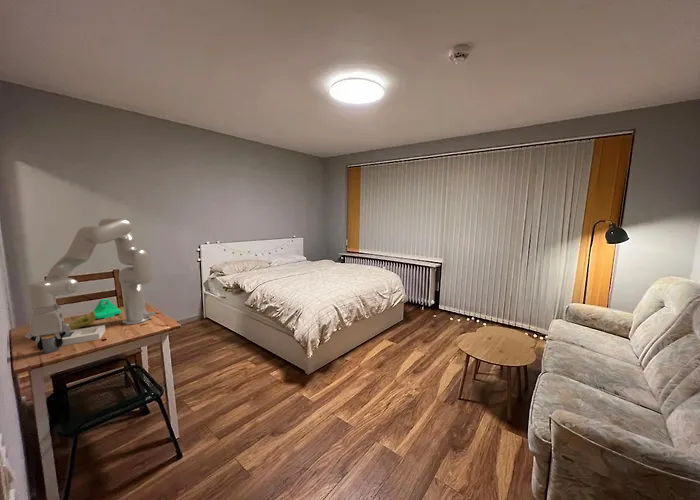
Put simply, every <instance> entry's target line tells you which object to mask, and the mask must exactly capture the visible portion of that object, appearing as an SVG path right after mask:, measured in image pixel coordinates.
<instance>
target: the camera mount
mask: <svg viewBox="0 0 700 500" xmlns="http://www.w3.org/2000/svg"><path fill="white" fill-rule="evenodd" d="M98 301H99V302H98V303H97V305H96V306H95V308H94V310H93V311H94V312H95V315H96V318H95V319H96V320H98V319H108V318H113V317H115V315H118V314H121V313H122V310H121V309H119V308H118V307H116V306H115V304H113V303H112V302H111V301H110V300H109V299H107V298H102V299H100V300H98ZM104 302H105V303H104Z"/></svg>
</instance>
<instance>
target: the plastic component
mask: <svg viewBox="0 0 700 500" xmlns="http://www.w3.org/2000/svg"><path fill="white" fill-rule="evenodd" d="M95 319H96V315H95V312H94V310H93V311H91V312H90V313H89V314H85V315H81V316H79V317H78V318H77V319H75V320H72V321H67V322H65V324H69V327H70V328H71V330H76V329H80V328H83V327H87V326H90V325H91V324H92V323H93V322H94V321H95Z"/></svg>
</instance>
